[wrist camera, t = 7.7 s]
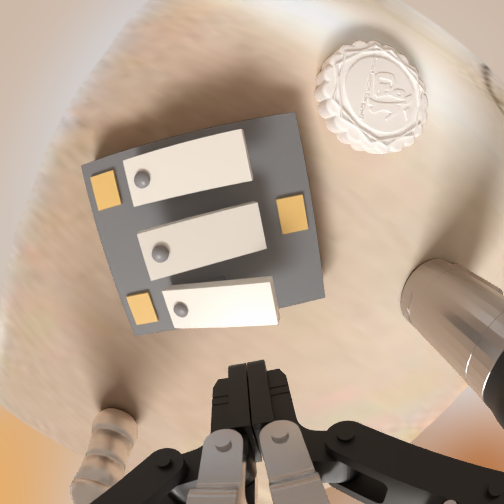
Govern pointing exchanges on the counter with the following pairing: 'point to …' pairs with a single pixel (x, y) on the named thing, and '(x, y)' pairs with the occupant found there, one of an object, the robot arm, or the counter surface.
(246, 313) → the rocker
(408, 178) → the counter surface
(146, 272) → the switch console
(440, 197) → the counter surface
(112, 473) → the plastic bottle
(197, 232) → the plate
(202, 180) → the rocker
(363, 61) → the mooncake
